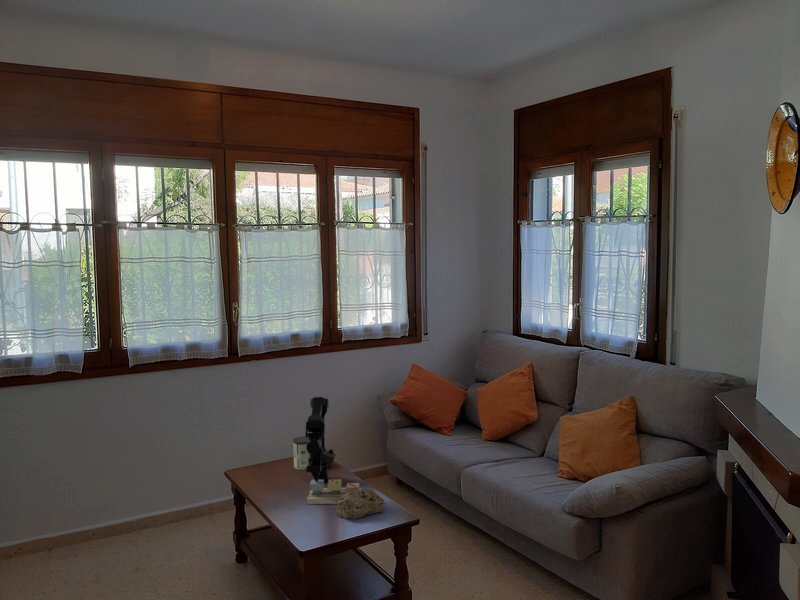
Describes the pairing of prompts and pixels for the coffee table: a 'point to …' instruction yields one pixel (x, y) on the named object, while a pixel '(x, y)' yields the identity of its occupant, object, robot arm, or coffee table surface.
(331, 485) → the yellow cube
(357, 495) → the rock
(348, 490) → the pink cube
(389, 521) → the coffee table surface
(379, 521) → the coffee table surface
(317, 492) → the blue-grey cube
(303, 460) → the coffee can
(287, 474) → the coffee table surface
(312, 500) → the keypad board
